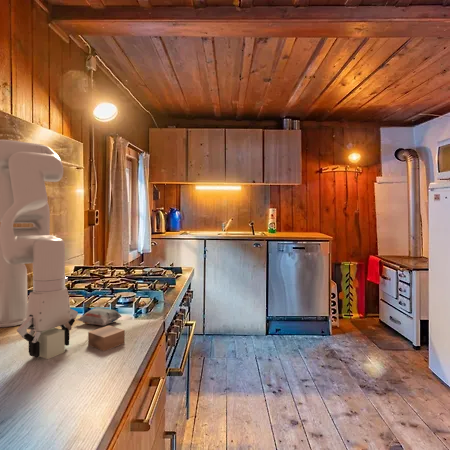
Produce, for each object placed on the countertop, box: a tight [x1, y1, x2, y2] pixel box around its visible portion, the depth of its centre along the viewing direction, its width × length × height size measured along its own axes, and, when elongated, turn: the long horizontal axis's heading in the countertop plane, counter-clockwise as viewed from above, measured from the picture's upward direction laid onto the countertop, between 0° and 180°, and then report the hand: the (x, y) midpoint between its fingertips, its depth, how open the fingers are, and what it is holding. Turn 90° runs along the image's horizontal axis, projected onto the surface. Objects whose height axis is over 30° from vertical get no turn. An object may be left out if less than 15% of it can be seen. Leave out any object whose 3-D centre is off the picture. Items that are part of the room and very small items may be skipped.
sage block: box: [37, 327, 66, 360], centre depth 91 cm, size 5×5×6 cm
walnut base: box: [87, 324, 126, 352], centre depth 98 cm, size 7×7×4 cm
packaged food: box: [75, 307, 122, 327], centre depth 115 cm, size 9×12×5 cm
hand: (50, 349), depth 91 cm, fingers open, 8 cm apart
